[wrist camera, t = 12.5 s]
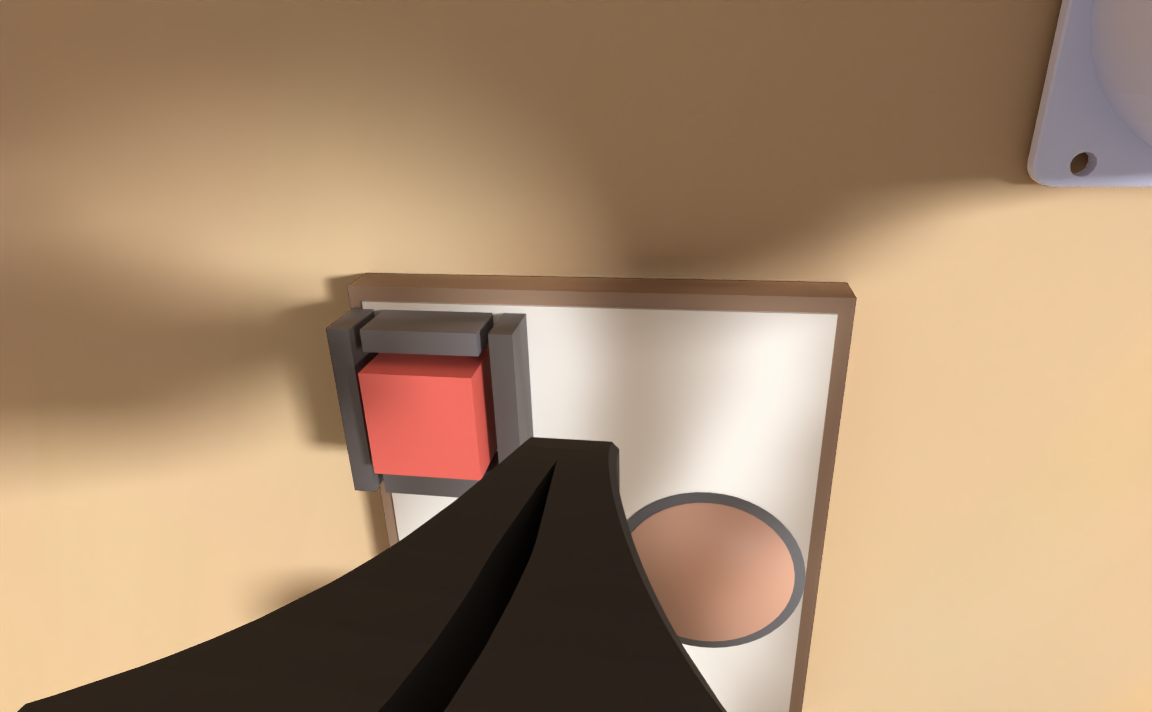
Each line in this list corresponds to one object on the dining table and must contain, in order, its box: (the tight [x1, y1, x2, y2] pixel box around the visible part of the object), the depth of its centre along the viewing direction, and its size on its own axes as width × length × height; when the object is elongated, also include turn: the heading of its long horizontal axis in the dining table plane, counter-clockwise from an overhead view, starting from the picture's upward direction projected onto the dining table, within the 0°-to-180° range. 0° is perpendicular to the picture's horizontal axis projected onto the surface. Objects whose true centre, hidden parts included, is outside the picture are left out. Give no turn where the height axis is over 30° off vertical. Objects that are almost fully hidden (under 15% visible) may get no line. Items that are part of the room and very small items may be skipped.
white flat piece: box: [326, 273, 856, 712], centre depth 21 cm, size 13×15×3 cm
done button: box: [358, 349, 497, 480], centre depth 19 cm, size 3×3×2 cm
